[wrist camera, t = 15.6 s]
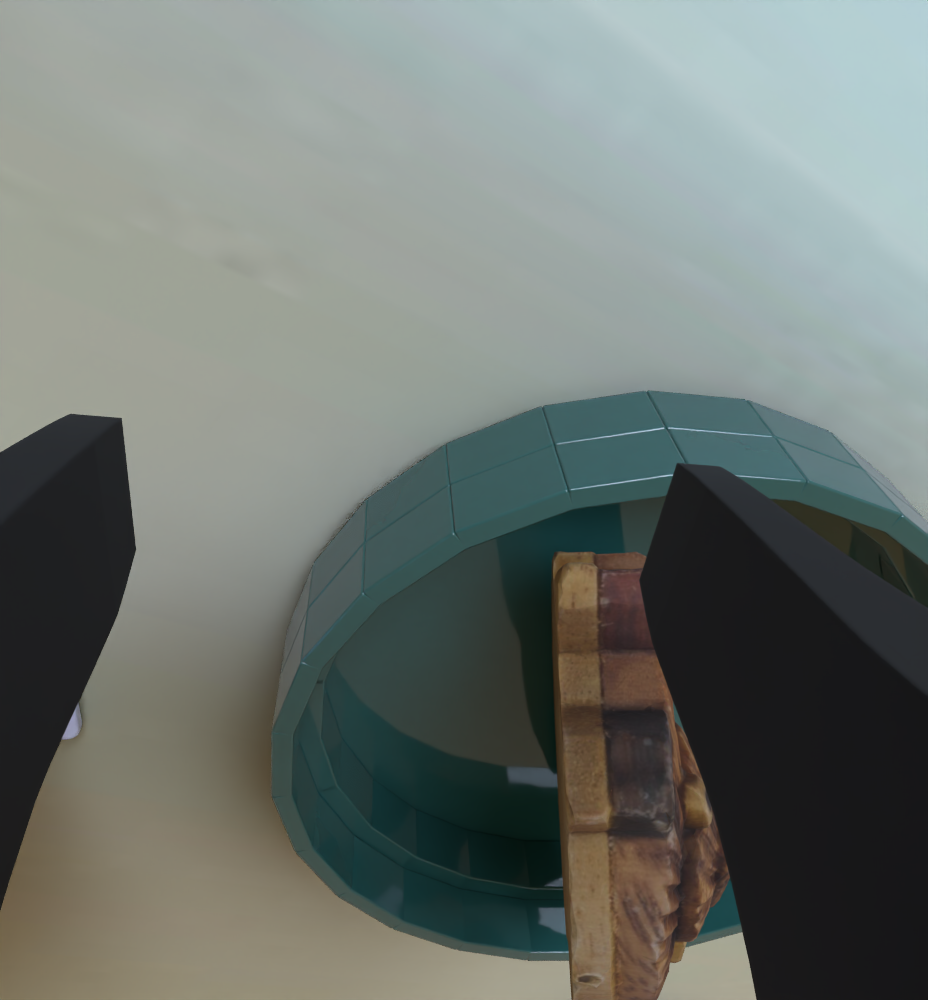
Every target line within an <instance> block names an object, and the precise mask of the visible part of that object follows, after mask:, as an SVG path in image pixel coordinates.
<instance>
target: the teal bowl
mask: <svg viewBox="0 0 928 1000" xmlns="http://www.w3.org/2000/svg"><path fill="white" fill-rule="evenodd" d="M677 463H684V464H697V465H709V466H720V467H722V468H724V469H726V470H727V471H729V472H731V473H732V474H734V475H736V476H737V477H739V478H740V479H742V480H743V481H745V482H746V483H748V484H749V485H751V486H752V487H754V488H755V489H756V490H758V491H759V492H761V493H762V494H763V495H765V496H766V497H768V498H769V499H770V500H772V501H773V502H775V503H776V504H777V505H779V506H780V507H781V508H783V509H784V510H785V511H787V512H788V513H790V514H791V515H792V516H794V517H795V518H796V519H798V520H799V521H800V522H802V523H803V524H805V525H806V526H807V527H809V528H810V529H811V530H813V531H814V532H816V533H817V534H818V535H820V536H821V537H822V538H824V539H825V540H827V541H828V542H829V543H831V544H832V545H834V546H835V547H836V548H838V549H839V550H841V551H842V552H843V553H845V554H846V555H848V556H849V557H851V558H852V559H854V560H855V561H856V562H858V563H859V564H861V565H862V566H864V567H865V568H867V569H868V570H869V571H871V572H873V573H874V574H876V575H877V576H879V577H880V578H882V579H883V580H885V581H886V582H888V583H889V584H891V585H892V586H894V587H896V588H897V589H899V590H900V591H902V592H903V593H905V594H906V595H908V596H909V597H911V598H912V599H914V600H916V601H917V602H919V603H920V604H922V605H924V606H925V607H927V608H928V522H927V521H926V520H925V519H924V518H923V516H922V515H921V514H920V513H919V512H918V511H917V510H916V509H915V508H914V507H913V505H912V504H911V503H910V502H909V501H908V500H907V499H906V498H905V497H904V496H903V494H902V493H901V492H900V491H899V490H898V489H897V488H896V487H895V486H894V485H893V483H892V482H891V481H890V480H889V479H888V478H887V477H885V476H884V475H883V474H882V473H881V472H879V471H878V470H877V469H876V468H874V467H873V466H872V465H871V464H870V463H868V462H867V461H866V460H865V459H863V458H862V457H861V456H860V455H859V454H857V453H856V452H855V451H854V450H852V449H851V448H850V447H849V446H848V445H846V444H845V443H844V442H843V441H841V440H840V439H839V438H838V437H837V436H835V435H834V434H833V433H831V432H829V431H828V430H825V429H823V428H820V427H817V426H815V425H812V424H810V423H807V422H804V421H802V420H799V419H796V418H794V417H791V416H788V415H786V414H783V413H781V412H778V411H775V410H773V409H770V408H767V407H765V406H762V405H759V404H757V403H754V402H752V401H749V400H745V399H735V398H725V397H714V396H703V395H692V394H681V393H670V392H660V391H647V392H646V391H640V392H633V393H626V394H619V395H613V396H606V397H599V398H592V399H586V400H579V401H572V402H565V403H559V404H552V405H545V406H543V408H542V407H537V408H535V409H532V410H530V411H527V412H525V413H522V414H520V415H517V416H515V417H512V418H510V419H507V420H504V421H502V422H499V423H497V424H494V425H492V426H489V427H487V428H484V429H482V430H479V431H476V432H474V433H471V434H469V435H466V436H464V437H461V438H459V439H456V440H454V441H451V442H449V443H447V444H446V445H443V446H442V447H440V448H439V449H437V450H436V451H434V452H433V453H432V454H430V455H429V456H427V457H426V458H424V459H423V460H422V461H420V462H419V463H417V464H416V465H415V466H413V467H412V468H410V469H409V470H407V471H406V472H405V473H403V474H402V475H400V476H399V477H397V478H396V479H395V480H393V481H392V482H390V483H389V484H387V485H386V486H385V487H383V488H382V489H380V490H379V491H378V492H376V493H375V494H373V495H372V496H370V497H369V498H368V499H367V500H365V502H364V503H363V504H362V505H361V506H360V508H359V509H358V510H357V511H356V512H355V514H354V515H353V516H352V517H351V518H350V520H349V521H348V522H347V523H346V525H345V526H344V527H343V528H342V529H341V531H340V532H339V533H338V534H337V535H336V537H335V538H334V539H333V540H332V541H331V543H330V544H329V545H328V546H327V548H326V549H325V550H324V551H323V552H322V554H321V555H320V556H319V557H318V558H317V560H316V561H315V562H314V565H313V566H312V568H311V571H310V573H309V576H308V578H307V581H306V584H305V586H304V589H303V591H302V594H301V596H300V599H299V601H298V604H297V606H296V609H295V611H294V614H293V616H292V619H291V621H290V624H289V626H288V629H287V634H286V641H285V647H284V653H283V660H282V666H281V673H280V680H279V686H278V693H277V699H276V705H275V712H274V718H273V725H272V731H271V795H272V799H273V802H274V804H275V806H276V809H277V811H278V813H279V816H280V818H281V820H282V823H283V825H284V827H285V830H286V832H287V834H288V837H289V839H290V842H291V844H292V846H293V849H294V851H296V854H297V855H298V856H299V857H300V858H301V859H302V860H303V861H304V862H305V863H306V864H307V865H308V866H309V867H310V868H311V869H312V871H313V872H314V873H315V874H316V875H317V876H318V877H319V878H320V879H321V880H322V881H323V882H324V883H325V884H326V885H327V886H328V887H329V888H330V890H331V891H332V892H333V893H334V894H335V895H337V896H338V897H339V898H341V899H342V900H344V901H346V902H347V903H349V904H351V905H352V906H354V907H356V908H358V909H359V910H361V911H363V912H364V913H366V914H368V915H369V916H371V917H373V918H374V919H376V920H378V921H380V922H381V923H383V924H385V925H386V926H388V927H390V928H393V929H394V930H397V931H400V932H403V933H406V934H409V935H412V936H415V937H418V938H421V939H424V940H427V941H430V942H433V943H436V944H439V945H442V946H445V947H448V948H451V949H454V950H456V949H457V950H459V951H466V952H472V953H479V954H486V955H493V956H500V957H506V958H513V959H520V960H528V961H569V949H568V940H567V937H566V924H565V909H564V893H563V877H562V860H561V841H560V823H559V805H558V782H557V762H556V739H555V716H554V692H553V660H552V613H551V576H552V558H553V555H554V552H558V551H561V552H568V553H569V552H593V553H595V554H612V553H629V552H638V553H640V554H642V555H645V556H646V557H647V554H648V551H649V548H650V545H651V542H652V539H653V536H654V533H655V529H656V526H657V523H658V520H659V517H660V514H661V511H662V508H663V505H664V502H665V498H666V495H667V492H668V489H669V486H670V483H671V480H672V477H673V474H674V471H675V467H676V464H677ZM673 711H674V720H675V722H676V723H677V724H678V725H679V726H680V727H681V728H682V729H683V726H682V723H681V721H680V718H679V715H678V713H677V710H676V707H675V705H674V702H673ZM683 731H684V729H683ZM684 733H685V731H684ZM740 932H742V927H741V923H740V918H739V914H738V909H737V905H736V900H735V896H734V892H733V887H732V883H731V879H729V881H728V884H727V886H726V888H725V890H724V892H723V894H722V896H721V898H720V900H719V901H718V902H717V903H716V904H715V905H714V906H713V907H711V908H709V911H708V913H707V915H706V917H705V920H704V924H703V926H702V928H701V930H700V932H699V934H698V936H697V938H696V939H694V941H691V942H687V943H686V946H685V947H689V946H693V945H696V944H700V943H704V942H707V941H711V940H715V939H718V938H722V937H726V936H729V935H733V934H737V933H740Z"/></svg>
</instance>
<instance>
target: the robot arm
mask: <svg viewBox="0 0 928 1000" xmlns="http://www.w3.org/2000/svg"><path fill="white" fill-rule="evenodd" d="M135 551H136V546H135V536H134V527H133V518H132V509H131V500H130V491H129V481H128V472H127V463H126V454H125V445H124V436H123V426H122V418H114V417H101V416H89V415H76V414H69V415H67V416H65V417H63V418H60V419H58V420H56V421H54V422H53V423H51V424H49V425H47V426H45V427H43V428H42V429H40V430H38V431H36V432H35V433H33V434H31V435H29V436H28V437H26V438H24V439H23V440H21V441H19V442H17V443H16V444H14V445H12V446H11V447H9V448H7V449H5V450H4V451H2V452H0V910H1V906H2V903H3V900H4V896H5V893H6V890H7V887H8V883H9V880H10V877H11V874H12V871H13V868H14V865H15V862H16V859H17V856H18V853H19V850H20V846H21V843H22V840H23V837H24V834H25V831H26V828H27V825H28V822H29V819H30V816H31V813H32V810H33V807H34V804H35V801H36V798H37V796H38V793H39V791H40V788H41V786H42V783H43V781H44V778H45V776H46V773H47V771H48V768H49V766H50V763H51V761H52V759H53V757H54V755H55V752H56V750H57V748H58V746H59V744H60V742H61V739H63V740H65V739H72V738H74V737H76V736H77V735H78V734H79V732H80V729H81V727H82V718H81V713H80V707H79V700H80V698H81V695H82V693H83V691H84V689H85V687H86V684H87V682H88V680H89V678H90V676H91V674H92V671H93V669H94V667H95V665H96V662H97V660H98V658H99V656H100V653H101V651H102V649H103V647H104V644H105V642H106V640H107V638H108V636H109V633H110V631H111V629H112V626H113V624H114V622H115V619H116V617H117V614H118V611H119V608H120V604H121V601H122V598H123V594H124V591H125V588H126V584H127V581H128V577H129V573H130V570H131V566H132V562H133V559H134V555H135ZM639 582H640V587H641V593H642V598H643V603H644V608H645V614H646V618H647V623H648V627H649V631H650V636H651V640H652V644H653V647H654V650H655V653H656V655H657V658H658V661H659V664H660V667H661V669H662V672H663V675H664V678H665V680H666V683H667V686H668V689H669V691H670V694H671V697H672V699H673V702H674V705H675V707H676V710H677V713H678V715H679V718H680V721H681V723H682V726H683V729H684V731H685V734H686V737H687V739H688V742H689V745H690V747H691V750H692V753H693V755H694V758H695V761H696V763H697V766H698V769H699V771H700V774H701V777H702V779H703V782H704V785H705V788H706V791H707V794H708V798H709V801H710V804H711V807H712V810H713V813H714V816H715V820H716V824H717V828H718V832H719V836H720V840H721V844H722V848H723V852H724V855H725V859H726V863H727V867H728V871H729V875H730V879H731V883H732V887H733V892H734V896H735V900H736V905H737V909H738V914H739V918H740V923H741V927H742V932H743V936H744V940H745V945H746V949H747V954H748V958H749V963H750V968H751V973H752V978H753V983H754V988H755V994H756V999H757V1000H928V608H927V607H925V606H924V605H922V604H920V603H919V602H917V601H916V600H914V599H912V598H911V597H909V596H908V595H906V594H905V593H903V592H902V591H900V590H899V589H897V588H896V587H894V586H892V585H891V584H889V583H888V582H886V581H885V580H883V579H882V578H880V577H879V576H877V575H876V574H874V573H873V572H871V571H869V570H868V569H867V568H865V567H864V566H862V565H861V564H859V563H858V562H856V561H855V560H854V559H852V558H851V557H849V556H848V555H846V554H845V553H843V552H842V551H841V550H839V549H838V548H836V547H835V546H834V545H832V544H831V543H829V542H828V541H827V540H825V539H824V538H822V537H821V536H820V535H818V534H817V533H816V532H814V531H813V530H811V529H810V528H809V527H807V526H806V525H805V524H803V523H802V522H800V521H799V520H798V519H796V518H795V517H794V516H792V515H791V514H790V513H788V512H787V511H785V510H784V509H783V508H781V507H780V506H779V505H777V504H776V503H775V502H773V501H772V500H770V499H769V498H768V497H766V496H765V495H763V494H762V493H761V492H759V491H758V490H756V489H755V488H754V487H752V486H751V485H749V484H748V483H746V482H745V481H743V480H742V479H740V478H739V477H737V476H736V475H734V474H732V473H731V472H729V471H727V470H726V469H724V468H722V467H720V466H709V465H697V464H684V463H677V464H676V467H675V471H674V474H673V477H672V480H671V483H670V486H669V489H668V492H667V495H666V498H665V502H664V505H663V508H662V511H661V514H660V517H659V520H658V523H657V526H656V529H655V533H654V536H653V539H652V542H651V545H650V548H649V551H648V554H647V557H646V560H645V563H644V567H643V570H642V573H641V576H640V579H639Z"/></svg>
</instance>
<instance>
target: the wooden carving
mask: <svg viewBox="0 0 928 1000" xmlns="http://www.w3.org/2000/svg"><path fill="white" fill-rule="evenodd" d="M645 560H646V556H645V555H642V554H640V553H638V552H629V553H612V554H595V553H593V552H569V553H568V552H561V551H558V552H554V555H553V558H552V576H551V613H552V660H553V692H554V716H555V739H556V762H557V782H558V805H559V823H560V841H561V860H562V877H563V893H564V909H565V924H566V937H567V940H568V949H569V965H570V982H571V996H572V1000H657V998H658V996H659V994H660V992H661V990H662V987H663V984H664V982H665V979H666V977H667V974H668V972H669V965H670V962H671V963H676V962H679V961H681V959H682V956H683V953H684V949H685V946H686V943H687V942H691V941H694V939H696V938H697V936H698V934H699V932H700V930H701V928H702V926H703V924H704V920H705V917H706V915H707V913H708V911H709V908H711V907H713V906H714V905H715V904H716V903H717V902H718V901H719V900H720V898H721V896H722V894H723V892H724V890H725V888H726V886H727V884H728V881H729V879H730V875H729V871H728V867H727V863H726V859H725V855H724V852H723V848H722V844H721V840H720V836H719V832H718V828H717V824H716V820H715V816H714V813H713V810H712V807H711V804H710V801H709V798H708V794H707V791H706V788H705V785H704V782H703V779H702V777H701V774H700V771H699V769H698V766H697V763H696V761H695V758H694V755H693V753H692V750H691V747H690V745H689V742H688V739H687V737H686V734H685V733H684V731H683V729H682V728H681V727H680V726H679V725H678V724H677V723H676V722H675V720H674V711H673V699H672V697H671V694H670V691H669V689H668V686H667V683H666V680H665V678H664V675H663V672H662V669H661V667H660V664H659V661H658V658H657V655H656V653H655V650H654V647H653V644H652V640H651V636H650V631H649V627H648V623H647V618H646V614H645V608H644V603H643V598H642V593H641V587H640V582H639V579H640V576H641V573H642V570H643V567H644V563H645Z"/></svg>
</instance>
